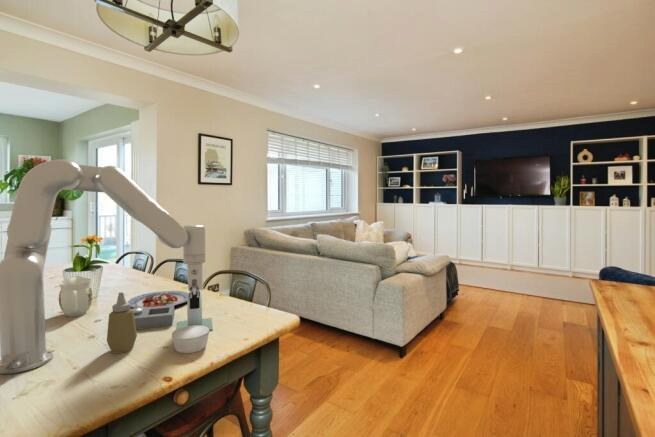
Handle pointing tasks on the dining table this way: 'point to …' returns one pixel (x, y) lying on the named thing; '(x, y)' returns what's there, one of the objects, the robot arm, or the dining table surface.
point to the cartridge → (194, 312)
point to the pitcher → (75, 296)
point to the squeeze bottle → (121, 326)
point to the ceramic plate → (158, 299)
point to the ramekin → (190, 338)
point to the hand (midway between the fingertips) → (194, 304)
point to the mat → (205, 322)
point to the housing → (155, 317)
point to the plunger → (137, 310)
